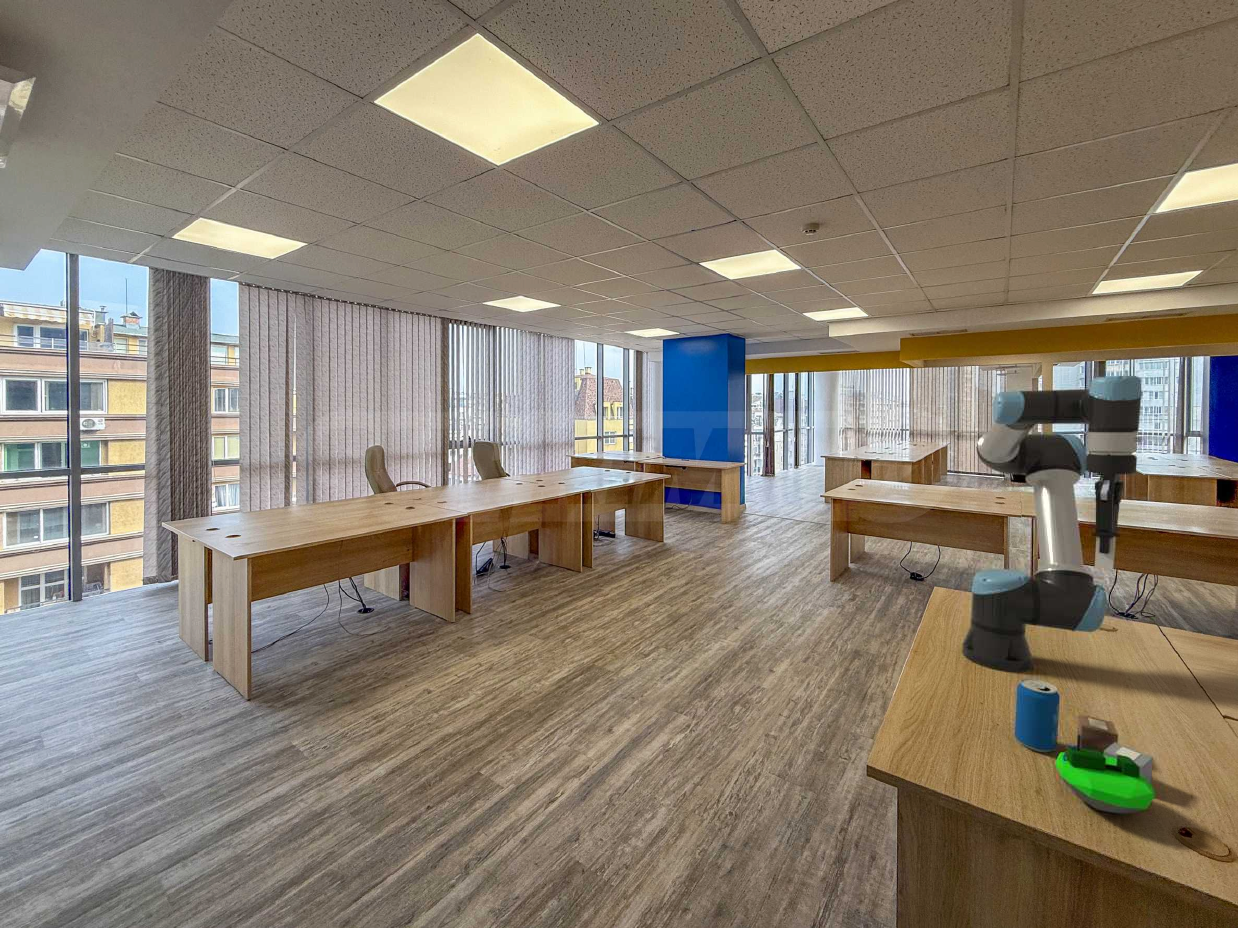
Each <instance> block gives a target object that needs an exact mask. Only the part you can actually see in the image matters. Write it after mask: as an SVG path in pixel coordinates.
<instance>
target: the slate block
mask: <svg viewBox="0 0 1238 928" xmlns="http://www.w3.org/2000/svg"><path fill="white" fill-rule="evenodd" d="M1117 755H1122V756H1127V757H1129V758H1131V759H1132V760H1133V761H1134V762H1135V763H1136V764H1137V765H1138V766H1139V768H1140V774H1141V775H1142V776H1143V777H1144V778H1145V779H1146V780H1147V781H1148V782H1149V783H1150V784H1151V785H1152V774H1153V763H1154V762H1153V759H1154V756H1151V755H1149V754H1147V753H1144V752H1142V751H1139V750H1137V749H1134V748H1132V747H1128V746H1126V745H1124V744H1122V743H1121V744H1120V743H1119V742H1118V743H1116V742H1114V743H1113V744H1112V745H1110V746H1109V747H1108V748H1107V749H1105V750H1104V754H1103V756H1107V757H1111V758H1116V759H1117Z"/></svg>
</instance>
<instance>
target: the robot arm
mask: <svg viewBox="0 0 1238 928" xmlns="http://www.w3.org/2000/svg"><path fill="white" fill-rule="evenodd" d="M1142 397H1143V391H1142V379H1141V378H1140V377H1139V376H1136V375H1113V376H1111V375H1110V376H1099V377H1095V378H1093V379H1092V380H1091V382H1090V388H1086V389H1085V388H1083V389H1081V388H1080V389H1079V388H1078V389H1051V390H1049V389H1048V390H1047V389H1046V390H1012V391H1001V392H998V393H996V394H995V395H994V398H993V402H992V420H993V424H992V426H991V427H990V429H989V431H987V432H985V433H984V434H983V435H982V436H981V437H980V438H979V440H978V441H977V444H976V453H977V456H978V458H979V460H980V461H981V462H982V463H983V464H984V465H985V466H987V467H988V468H990V469H991V470H993V471H995V472H998V473H1002V474H1006V475H1021V476H1025V482H1026V483H1027V484H1028V485H1029V486H1031V487H1033V496H1034V509H1035V518H1036V521H1035V522H1036V530H1037V532H1036V533H1037V540H1038V541H1037V543H1038V551H1039V554H1038V555H1039V565H1040V568H1039V569H1038V570H1036V571H1035V572H1034V573H1033V577H1034V578H1030V577H1029V576H1028V573H1026V572H1024V571H1021V570H1015V569H1014V570H1013V569H1008V568H1007V569H1006V568H994V569H985V570H981V571H979V572H977V573H976V574H975V575H974V576H973V580H972V587H971V589H970V590H971V593H972V594H971V595H972V596H971V612H970V613H971V615H970V616H971V617H970V627H969V628H968V631H967V633H966V635H965V637H964V639H963V641H962V645H961V653H962V655H963V656H964V657H965V658H966V659H968V660H970V661H971V662H973V663H976V664H978V665H980V666H982V667H986V668H990V669H994V670H998V671H1004V672H1005V671H1007V672H1026V671H1029V670H1031V669H1032V667H1033V655H1032V651H1031V648H1030V645H1029V642H1028V639H1027V637H1026V627H1027V626H1028V625H1029V626H1036V627H1043V628H1044V627H1045V628H1051V629H1057V630H1058V629H1059V630H1067V631H1071V632H1086V633H1092V632H1093V633H1094V632H1096V631H1098V630H1099V629H1100V628H1101V626H1102V625H1103V622H1104V619H1105V615H1106V611H1107V602H1108V601H1107V593H1106V592H1107V591H1105V587H1103V586H1102V585H1100V584H1097V583H1096V584H1095V583H1094V576H1093V575H1092V574H1091V573H1089V572H1088V571H1087V570H1085V567H1084V559H1083V551H1082V549H1083V548H1082V543H1081V535H1080V527H1079V526H1080V525H1079V520H1078V518H1079V517H1078V511H1077V504H1076V496H1075V486H1074V485H1076V484H1077V483H1078V482H1079V481H1080V479H1081V477H1082V476H1083V475H1085V474H1086V471H1087V472H1088V473H1092V474H1093V473H1094V474H1100V475H1099V480H1097V481H1095V483H1094V490H1095V491H1094V494H1095V530H1094V532H1092V533H1091V536H1092V537H1096V541H1095V556H1094V560H1095V561H1094V568H1096V569H1102V570H1109V571H1110V570H1111V571H1113V570H1114V569H1115V552H1116V551H1115V550H1116V538H1121V533H1118V530H1119V529H1118V523H1119V522H1118V521H1119V513H1120V512H1119V511H1120V503H1121V502H1122V492H1123V490H1124V487H1125V485H1124V484H1125V482H1123V481H1120V476H1121V475H1132V474H1135V473H1136V472H1137V462H1138V461H1137V460H1138V457H1137V456H1136V454H1133V453H1136V452H1138V443H1141V442H1142V441H1143V438H1142V437H1140V436H1139V428H1140V419H1141V418H1140V416H1141V415H1140V414H1141V404H1142V400H1141V399H1142ZM1053 424H1054V425H1058V424H1060V425H1064V424H1065V425H1069V424H1070V425H1071V424H1072V425H1073V424H1077V425H1078V424H1079V425H1080V424H1081V425H1082V424H1083V425H1084V424H1085V425H1087V427H1088V428H1087V432H1086V433H1087V434H1086V435H1087V436H1086V446H1085V444H1084V442H1083V441H1082V440H1081V438H1080V437H1078V436H1076V435H1075V434H1062V433H1059V432H1058V433H1053V434H1052V433H1051V434H1050V433H1049V434H1048V433H1044V434H1043V433H1040V434H1039V433H1031V434H1030V431H1031V430H1032V429H1033V428H1034V426H1036V425H1053ZM1088 452H1089V453H1088ZM1087 453H1088V454H1087Z"/></svg>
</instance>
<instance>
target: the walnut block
mask: <svg viewBox="0 0 1238 928" xmlns="http://www.w3.org/2000/svg"><path fill="white" fill-rule="evenodd" d="M1077 720H1078V723H1077V735H1078V734H1079V735H1081V737H1080V748H1082V749H1089V750H1095V751H1100V752H1101V753H1102V755H1103V754H1104V750H1105V749H1107V748H1108V747H1109V746H1110V745H1112V744H1113V743H1114V742H1116V743H1119V733H1118V732H1117V729H1116V726H1115V724H1114V722H1113V721H1110V720H1109V721H1108V720H1105V719H1102V718H1097V717H1092V716H1087V715H1083V714H1078V719H1077Z"/></svg>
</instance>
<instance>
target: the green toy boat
mask: <svg viewBox="0 0 1238 928" xmlns="http://www.w3.org/2000/svg"><path fill="white" fill-rule="evenodd" d="M1080 737H1081V735H1079V734H1078V733H1077V738H1076V740H1077V741H1076V745H1072V744H1067V747H1066V751H1064V752H1060V753H1059V755H1058V756H1057V758H1056V760H1055V765H1056V768H1057V770H1058V772H1059V773H1058V774H1059V775H1060V777H1061V778H1062V781H1063V782H1064V783H1065V785H1066V786H1067V787H1068V788H1069V789H1070V790H1071V791H1072V793H1073V794H1075V796H1076V797H1077V798H1078V799H1080V800H1081V801H1083V802H1085V803H1086V804H1088V805H1090V807H1092V808H1094V809H1096V810H1098V811H1103V812H1109V813H1113V814H1123V815H1124V814H1125V815H1128V814H1133V813H1137V812H1140V811H1141V812H1142V811H1145V810H1147V808H1148V807H1149V806H1150V805H1151V803H1152V801H1153V800H1154V799H1155V791H1154V786H1152V783H1151V784H1150V783H1149V782H1148V781H1147V780H1146V779H1145V778H1144V777H1143V776H1142V775H1141V774H1140V768H1139V766H1138V765H1137V764H1136V763H1135V762H1134V761H1133V760H1132V759H1131V758H1129V757H1127V756H1122V755H1117V759H1116V758H1111V757H1107V756H1103V755H1102V753H1101V752H1100V751H1095V750H1089V749H1082V748H1080Z"/></svg>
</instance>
